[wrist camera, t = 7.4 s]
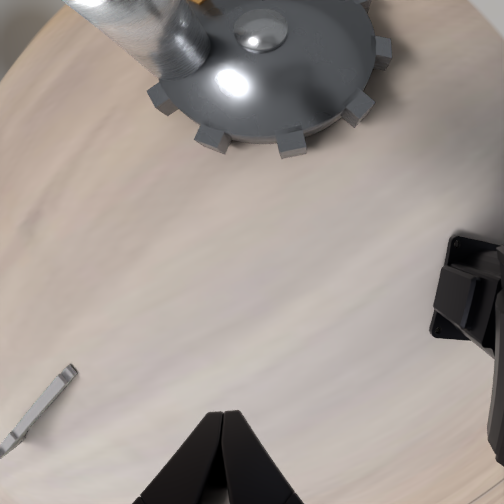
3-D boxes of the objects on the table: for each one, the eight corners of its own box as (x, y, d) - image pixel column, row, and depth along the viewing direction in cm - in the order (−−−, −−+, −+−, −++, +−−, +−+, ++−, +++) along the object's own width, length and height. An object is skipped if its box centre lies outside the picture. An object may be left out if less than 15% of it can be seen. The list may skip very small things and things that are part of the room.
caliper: (23, 441, 26) (-6, 465, 20) (17, 435, 26) (-12, 457, 20) (79, 371, 23) (33, 404, 16) (71, 361, 23) (24, 392, 16)
